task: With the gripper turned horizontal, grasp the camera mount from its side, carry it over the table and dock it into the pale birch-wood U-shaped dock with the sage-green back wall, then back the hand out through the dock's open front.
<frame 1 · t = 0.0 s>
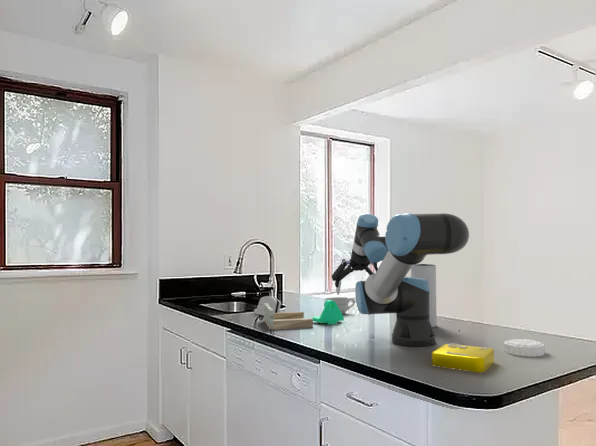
hand: (353, 291, 207), 15 cm above the worktop, tool tilted 35°, fingers open, 13 cm apart
dock: (285, 324, 221), on the worktop
speaker: (424, 326, 212), on the worktop
mooncake: (524, 353, 162), on the worktop
element tile: (463, 365, 149), on the worktop
teacup: (340, 314, 249), on the worktop
camera mount: (327, 323, 224), on the worktop
grey rounded piece: (268, 315, 250), on the worktop
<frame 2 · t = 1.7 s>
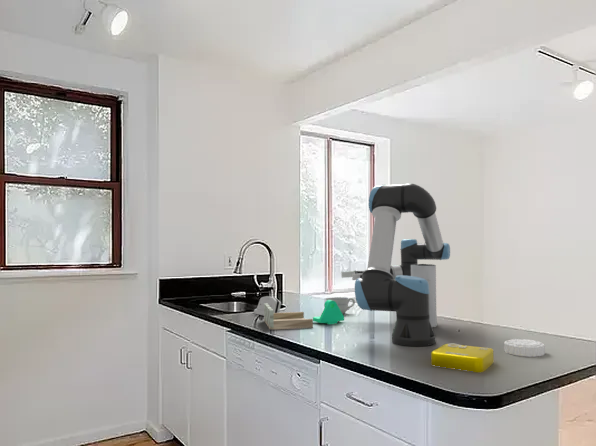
hand: (346, 275, 227), 20 cm above the worktop, tool horizontal, fingers open, 13 cm apart
nothing on the worktop moved.
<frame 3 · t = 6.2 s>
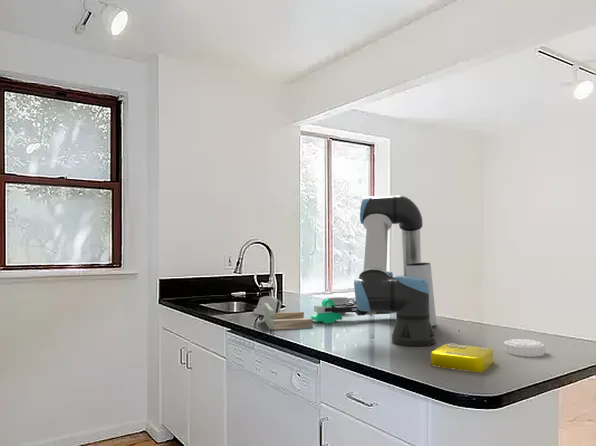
hand: (315, 309, 222), 6 cm above the worktop, tool horizontal, fingers closed on camera mount, 3 cm apart
speaker: (424, 325, 212), on the worktop, touching arm
camera mount: (326, 322, 226), on the worktop, touching gripper
everything else where it was.
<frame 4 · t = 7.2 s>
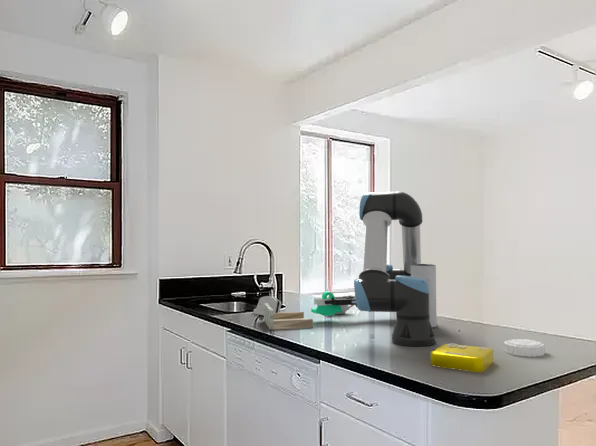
hand: (315, 301, 223), 9 cm above the worktop, tool horizontal, fingers closed on camera mount, 3 cm apart
speaker: (424, 326, 212), on the worktop
camera mount: (326, 314, 226), point 3 cm above the worktop, touching gripper
everything else where it was.
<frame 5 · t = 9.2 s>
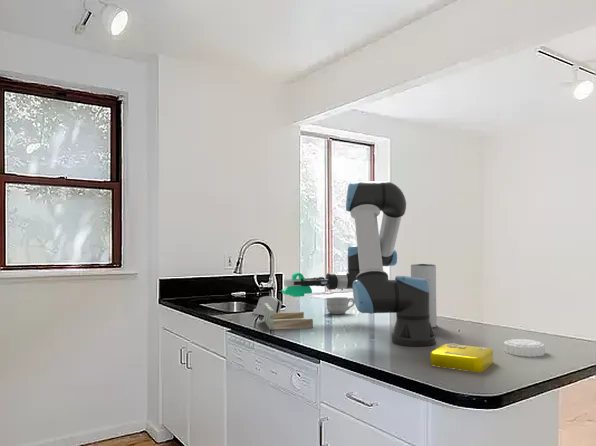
hand: (285, 282, 222), 18 cm above the worktop, tool horizontal, fingers closed on camera mount, 3 cm apart
camera mount: (296, 296, 225), point 12 cm above the worktop, touching gripper
everything else where it was.
when the fingers open (8 cm above the worktop, at t = 12.1 s): camera mount drops 1 cm, resting on dock.
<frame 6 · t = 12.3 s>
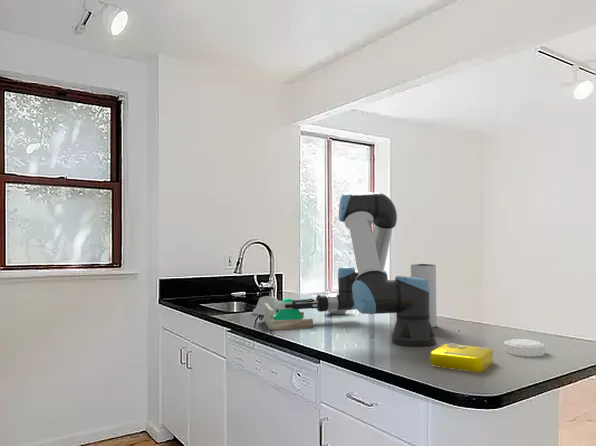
hand: (275, 305, 220), 8 cm above the worktop, tool horizontal, fingers open, 5 cm apart
camera mount: (286, 321, 223), point 1 cm above the worktop, touching dock
everything else where it was.
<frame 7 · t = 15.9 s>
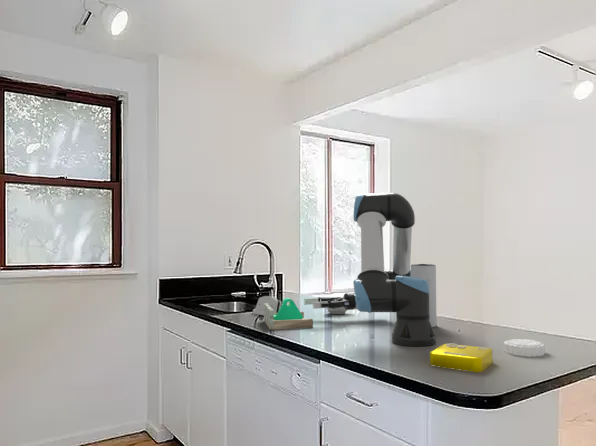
hand: (308, 303, 223), 9 cm above the worktop, tool horizontal, fingers open, 13 cm apart
nothing on the worktop moved.
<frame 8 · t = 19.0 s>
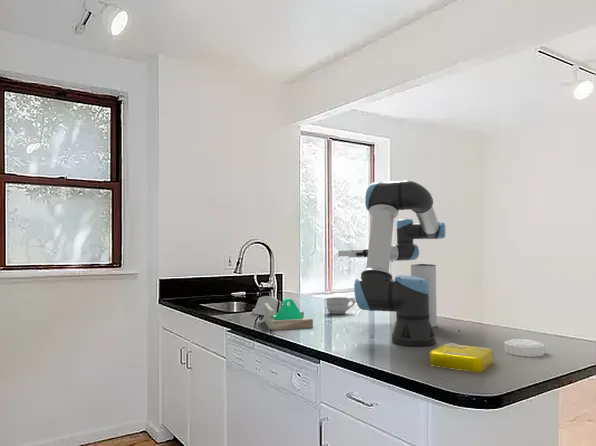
hand: (343, 254, 230), 30 cm above the worktop, tool horizontal, fingers open, 13 cm apart
nothing on the worktop moved.
at the end: camera mount inside the target area on the dock (1.5 cm from its centre), point 0.8 cm above the dock's base; camera mount tilted 0°; the gripper is holding nothing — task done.
